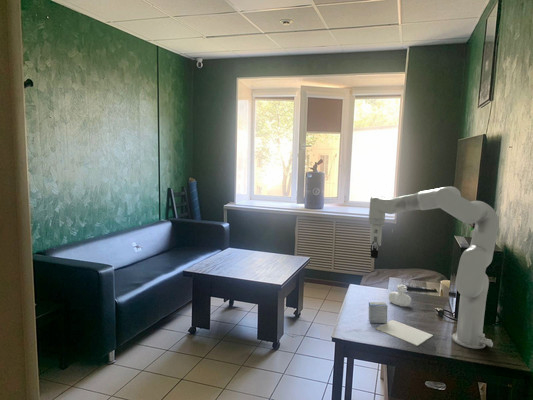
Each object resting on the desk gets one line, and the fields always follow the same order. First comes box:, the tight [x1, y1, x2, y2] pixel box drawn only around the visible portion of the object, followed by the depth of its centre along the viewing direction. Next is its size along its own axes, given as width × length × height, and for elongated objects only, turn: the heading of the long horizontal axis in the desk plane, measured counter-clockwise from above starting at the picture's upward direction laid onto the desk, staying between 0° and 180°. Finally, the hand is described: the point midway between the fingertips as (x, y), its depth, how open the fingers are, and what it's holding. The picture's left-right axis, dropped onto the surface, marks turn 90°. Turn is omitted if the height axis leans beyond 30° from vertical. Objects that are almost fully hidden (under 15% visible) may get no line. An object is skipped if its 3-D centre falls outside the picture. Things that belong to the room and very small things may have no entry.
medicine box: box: [368, 301, 389, 324], centre depth 177 cm, size 8×4×9 cm, turn 84°
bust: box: [388, 284, 412, 307], centre depth 200 cm, size 12×8×11 cm
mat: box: [375, 319, 434, 347], centre depth 167 cm, size 20×14×1 cm
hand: (373, 255), depth 187 cm, fingers open, 9 cm apart
